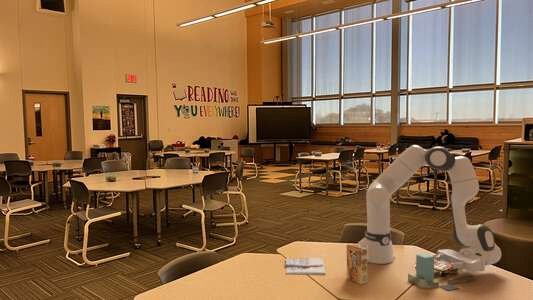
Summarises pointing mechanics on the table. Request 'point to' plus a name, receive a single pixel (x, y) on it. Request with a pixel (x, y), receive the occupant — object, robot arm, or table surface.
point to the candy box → (357, 263)
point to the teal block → (425, 267)
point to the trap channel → (447, 287)
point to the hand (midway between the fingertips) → (443, 261)
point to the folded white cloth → (296, 263)
